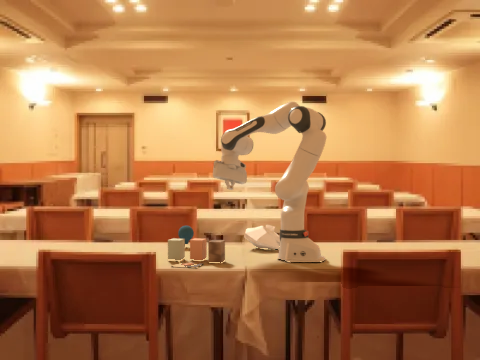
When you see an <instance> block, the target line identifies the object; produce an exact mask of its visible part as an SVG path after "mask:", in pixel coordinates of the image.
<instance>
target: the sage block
mask: <svg viewBox="0 0 480 360" xmlns="http://www.w3.org/2000/svg"><path fill="white" fill-rule="evenodd" d="M185 252H186V248H185V239H180V238H175V237H173V238H171V239H167V260H168V259H175V260H181V259H183V258H184V257H185V256H186V253H185ZM185 258H186V257H185Z"/></svg>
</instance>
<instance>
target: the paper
mask: <svg viewBox="0 0 480 360" xmlns="http://www.w3.org/2000/svg"><path fill="white" fill-rule="evenodd" d="M275 228H276V226H274V225H271V224H267V223H266V224H265V226H264V225H259V226H255V227H248V228H246V229H245V233H244V235H243V238H244V239H245V240H247V241H248V242H249V243H250V244H252V245H253V246H254V247H255V246H256V247H258V248H268V249H280V247H279V246H280V234H278V233H277V232H275ZM256 247H255V248H256ZM258 248H257V249H258Z"/></svg>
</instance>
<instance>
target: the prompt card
mask: <svg viewBox="0 0 480 360" xmlns="http://www.w3.org/2000/svg"><path fill="white" fill-rule="evenodd" d="M194 263H195V262H186V263H182V264H181V265H184V266H185V267H186V266H187V267H198V266H200V265H202V264H205V263H203V262H198V263H199V264H197V265H194ZM191 265H194V266H191ZM202 266H203V265H202ZM200 267H201V266H200Z"/></svg>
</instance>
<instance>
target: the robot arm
mask: <svg viewBox="0 0 480 360" xmlns="http://www.w3.org/2000/svg"><path fill="white" fill-rule="evenodd" d="M326 124H327V121H326V117H325V116H324V115H323V114H322V113H321V112H318V111H316V110H314V109H313V108H310V107H306V106H303V105H300V104H299V103H298V102H295V101H292V100H291V101H287V102H285V103H284V104H282V105H279V106H277V107H276V108H275V109H273V110H271V111H269V112H268V113H266V114H264V115H261V116H257V117H255V118H252V119H250V120H248V121H246V122H244V123H242V124H241V125H239V126H236V127H234V128H231V129H230V128H229V129H227V130H226V131H225V132H224V133H223V134H222V135H221V136H220V137H221V138H220V143H221V144H220V146H221V147H220V149H221V150H220V151H221V157H220V158H221V160H217V159H216V160H215V161H214V162H213V169H212V177H213V178H214V179H217V180H222V181H224V184H225V185H226V190H230V191H233V190H234V186H235V185H236V184H238V185H244V184H246V183H247V182H248V175H247V174H248V172H247V170H246V168H247V165H246V164H245V163H244V162H242V161H241V160H240V159H239V156H246V155H249V154H250V153H252V151H253V149H254V140H253V139H252V138H251V137H249V136H250V135H252V134H255V133H266V134H269V135H270V134H271V135H276V134H280V133H282V132H285V131H286V130H287V129H289V128H290V127H292V128H293V129H295V131H297V133H299V134H302V138H301V141H300V143H299V145H298V147H297V149H296V151H295V153H294V155H293V159H292V161H291V162H290V164H289V165H288V166H287V168H286V170H285V171H284V173H283V175H282V176H281V178H280V179H279V180H278V181H277V182H276V184H275V186H274V192H275V195H276V196H277V197H278V198H279V199H280V200H282V201H283V205H282V209H281V211H280V229H279V236H280V249H279V250H278V254H277V258H279V259H282V260H285V261H290V262H289V263H291V262H320V261H324V260H325V259H326V256H324V255H322V253H321V248H320V246H319V245H318V243H316V242H314V241H313V240H312V239H311V238H309V234H310V233H309V230H306V228H305V210H306V205H307V196H308V193H309V190H310V186H309V183H308V179H309V177H310V176H311V175H312V173H314V170H315V169H316V167H317V164H318V162H319V160H320V158H321V156H322V153H323V152H324V151H323V150H324V149H325V146H326V142H327V135H326V133H325V131H324V130H325V128H326V126H327V125H326ZM285 261H284V262H285ZM325 261H326V260H325ZM325 261H324V262H325Z"/></svg>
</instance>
